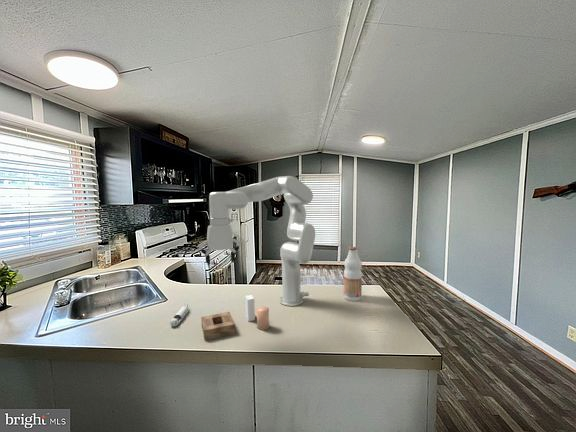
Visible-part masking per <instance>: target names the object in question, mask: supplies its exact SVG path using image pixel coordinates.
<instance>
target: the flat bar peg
mask: <svg viewBox="0 0 576 432" xmlns="http://www.w3.org/2000/svg"><path fill="white" fill-rule="evenodd" d="M244 303H245V307H244V308H245V309H244V311H245V313H244V314H245V318H246V320H247V322H251V321H252V322H253V321H255V320H256V319H255V318H256V317H255V316H256V315H255V314H256V313H255V312H256V311H255V310H256V309H255V308H256V307H255V305H256V304H255V298H254V296H253V295H252V294H249V295H248V294H247V295H244Z"/></svg>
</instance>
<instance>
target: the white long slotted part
mask: <svg viewBox="0 0 576 432" xmlns="http://www.w3.org/2000/svg"><path fill="white" fill-rule="evenodd" d="M190 306H191V305H189V303H187V304H185V305H184V306H182V307H180V309H179V310H178V312H176V314H175V315H174V316H173V318H172V319H171V320H170V321H169V322H170V326H171V327H177V326H178V325H179V324H180V323H181V322H182V320H183V319H184V317H185V316H186V315H187V314H188V312H189V311H190V310H191V309H190Z"/></svg>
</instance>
